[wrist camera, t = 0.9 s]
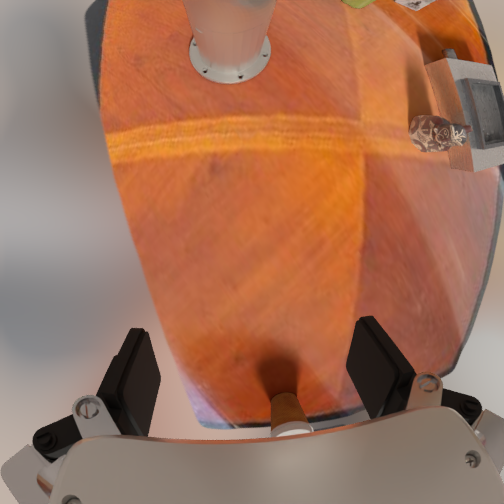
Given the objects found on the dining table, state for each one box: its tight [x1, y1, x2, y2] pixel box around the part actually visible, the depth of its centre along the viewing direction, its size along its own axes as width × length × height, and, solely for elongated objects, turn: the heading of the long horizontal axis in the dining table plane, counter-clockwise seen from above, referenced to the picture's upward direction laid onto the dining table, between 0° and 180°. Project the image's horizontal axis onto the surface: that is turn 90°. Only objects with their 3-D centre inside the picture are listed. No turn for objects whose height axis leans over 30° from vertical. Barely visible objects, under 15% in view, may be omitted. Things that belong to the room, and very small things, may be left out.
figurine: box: [409, 115, 473, 152], centre depth 34 cm, size 7×7×12 cm
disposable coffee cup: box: [269, 392, 313, 438], centre depth 52 cm, size 10×10×12 cm
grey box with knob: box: [425, 49, 504, 172], centre depth 33 cm, size 25×18×9 cm
